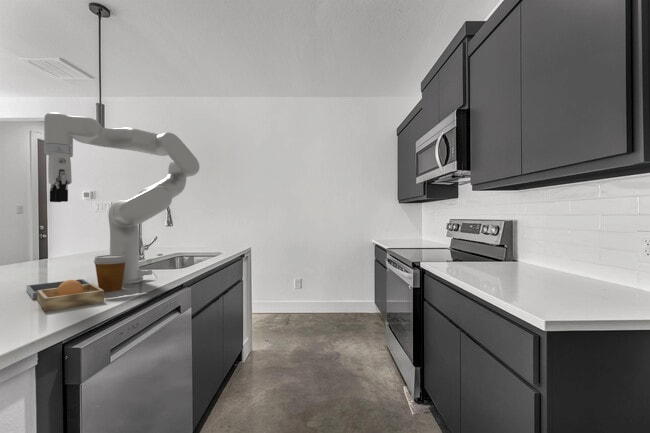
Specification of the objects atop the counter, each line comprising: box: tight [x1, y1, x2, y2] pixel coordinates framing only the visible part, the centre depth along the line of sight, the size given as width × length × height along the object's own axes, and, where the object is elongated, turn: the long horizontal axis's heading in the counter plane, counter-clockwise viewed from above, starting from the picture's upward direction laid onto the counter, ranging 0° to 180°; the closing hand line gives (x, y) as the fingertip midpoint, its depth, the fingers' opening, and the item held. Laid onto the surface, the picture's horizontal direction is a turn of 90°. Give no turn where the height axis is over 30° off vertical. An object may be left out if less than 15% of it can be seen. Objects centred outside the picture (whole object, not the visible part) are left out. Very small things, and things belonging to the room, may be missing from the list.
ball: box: [57, 279, 83, 296], centre depth 97 cm, size 6×6×6 cm
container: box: [26, 278, 92, 301], centre depth 108 cm, size 15×15×2 cm
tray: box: [36, 283, 105, 312], centre depth 97 cm, size 14×14×4 cm
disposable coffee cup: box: [93, 254, 127, 293], centre depth 111 cm, size 10×10×12 cm
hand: (58, 201), depth 111 cm, fingers open, 9 cm apart
